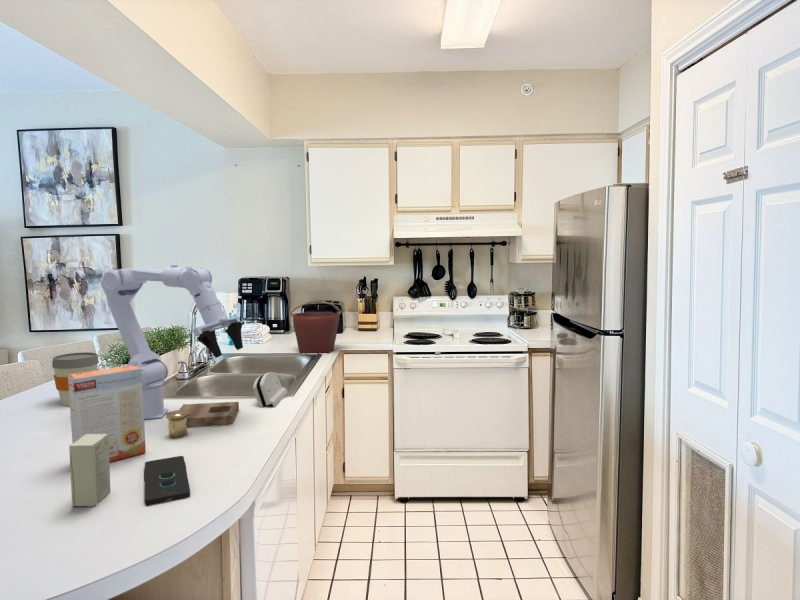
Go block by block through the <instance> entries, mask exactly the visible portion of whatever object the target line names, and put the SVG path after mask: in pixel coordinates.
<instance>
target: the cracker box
mask: <svg viewBox="0 0 800 600" xmlns="http://www.w3.org/2000/svg"><path fill="white" fill-rule="evenodd" d="M68 386H69V402H70V406H69V413H70V427H71V440H72V441H71V442H72V443H74V442H75V441H77V440H78V439H79V438H81V437H82V436H84V435H85V434H108V443H109V463H111V462H115V461H119V460H123V459H126V458H130V457H134V456H138V455H141V454H142V455H143V454H146V450H147V449H146V447H147V446H146V430H145V419H144V409H143V390H142V372H141V368H139V367H137V366H134V365H130V366H127V365H125V366H119V367H112V368H111V367H110V368H104V369H97V370H96V371H89V372H82V373H76V374H69V375H68ZM72 443H71V444H72Z"/></svg>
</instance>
